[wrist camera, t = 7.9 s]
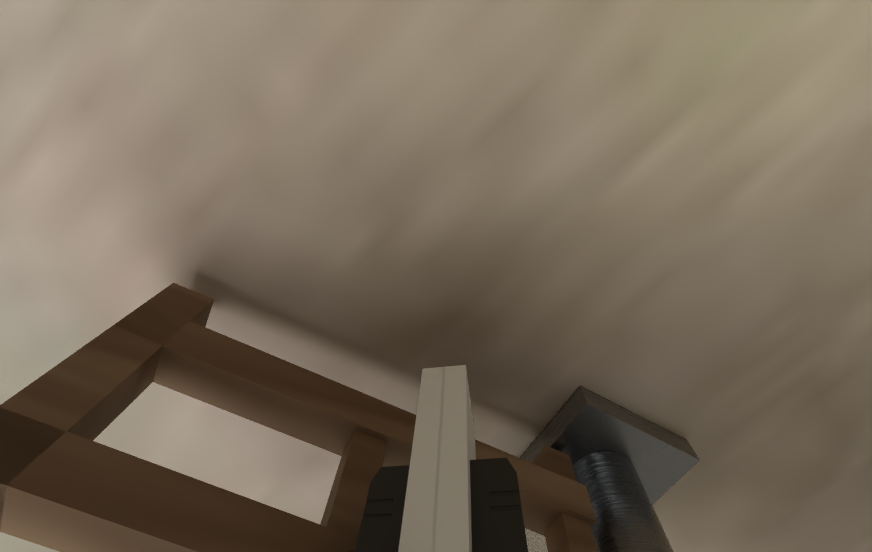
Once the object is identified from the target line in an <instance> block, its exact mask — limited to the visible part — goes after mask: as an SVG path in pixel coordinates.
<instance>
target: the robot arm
mask: <svg viewBox="0 0 872 552" xmlns="http://www.w3.org/2000/svg"><path fill="white" fill-rule="evenodd" d="M349 552H528V549H527V541H526V534H525V527H524V520H523V513H522V506H521V499H520V492H519V485H518V478H517V472H516V471H515V469H514V468H513V466H512V465H511V463H510V462H509V460H508V459H507V458H492V459H477V460H476V452H475V429H474V421H473V414H472V407H471V399H470V392H469V385H468V377H467V370H466V365H459V366H447V367H436V368H425V369H422V377H421V384H420V392H419V400H418V407H417V415H416V422H415V430H414V437H413V445H412V452H411V460H410V465H404V466H389V467H381V468H380V469H379V471H378V472H377V474H376V475H375V477H374V478H373V480H372V481H371V482H370V486H369V491H368V495H367V500H366V504H365V508H364V513H363V519H362V522H361V526H360V531H359V535H358V539H357V544H356V548H355V550H352V551H349Z"/></svg>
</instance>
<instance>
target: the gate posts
mask: <svg viewBox="0 0 872 552" xmlns="http://www.w3.org/2000/svg"><path fill="white" fill-rule="evenodd" d="M545 445H546V446H549V447H551V448H553V449H556V450H558V451H560V452H563V453H565V454H567V455H569V456H570V459H571V463H572V466H573V469H574V473H575V476H576V479H577V482H578V483H580V484H583V485H585V486H586V488H587V491H588V494H589V498H590V501H591V504H592V507H593V510H594V513H595V517H596V520H597V522H596V523H595V524H594V525H593V526H592V527H591V530H592V534H593V537H594V540H595V544H596V547H597V551H598V552H673V550H672V548H671V545H670V543H669V541H668V539H667V537H666V534H665V532H664V530H663V528H662V526H661V523H660V521H659V519H658V517H657V515H656V513H655V510H654V508H653V506H652V504H653V503H654V502H655V501H656V500H658V499H659V498H660V497H661V496H662V495H663V494H664V493H665V492H666V491H667V490H668V489H669V488H670V487H671V486H672V485H674V484H675V483H676V482H677V481H678V480H679V479H680V478H681V477H682V476H683V475H684V474H685V473H686V472H687V471H688V470H690V469H691V468H692V467H693V466H694V465H695V464H696V463H697V462H698V461H699V458H698V457H697V455H696V454H695V452H694V450H693V449H692V447H691V446H690V444H689V443H688V441H687V440H686V439H684V438H682V437H680V436H678V435H676V434H674V433H672V432H670V431H668V430H666V429H664V428H662V427H660V426H658V425H656V424H654V423H652V422H650V421H648V420H646V419H644V418H642V417H640V416H638V415H636V414H634V413H632V412H630V411H628V410H626V409H624V408H622V407H620V406H618V405H616V404H614V403H613V402H611V401H609V400H607V399H605V398H603V397H601V396H599V395H597V394H595V393H593V392H591V391H589V390H587V389H585V388H583V387H581V386H580V387H579V389H578V390H577V391H576V392H575V393H574V394H573V396H572V397H571V398H570V399H569V400H568V402H567V403H566V404H565V405H564V406H563V408H562V409H561V410H560V411H559V412H558V413H557V415H556V416H555V417H554V418H553V419H552V421H551V422H550V423H549V424H548V425H547V427H546V428H545V429H544V430H543V431H542V432H541V434H540V435H539V436H538V437H537V438H536V440H535V441H534V442H533V443H532V444H531V446H530V447H529V448H528V449H527V450H526V451H525V453H524V454H523V455H522V456H521V457H520V459H523V460H525V461H527V462H530V463H532V462H533V461H534V460H535V458H536V457H537V456H538V454H539V453H540V452H541V451H542V449H543V448H544V447H545Z"/></svg>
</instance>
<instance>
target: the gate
mask: <svg viewBox="0 0 872 552" xmlns="http://www.w3.org/2000/svg"><path fill="white" fill-rule="evenodd" d="M213 301H214V300H213V299H211V298H208V297H206V296H204V295H201V294H199V293H196V292H194V291H192V290H189V289H187V288H185V287H182V286H180V285H178V284H175V283H173V284H171V285H170V286H168V287H167V288H165V289H164V290H163V291H161V292H160V293H158V294H157V295H156V296H154V297H153V298H151V299H150V300H148V301H147V302H146V303H144V304H143V305H141V306H140V307H139V308H137V309H136V310H134V311H133V312H132V313H130V314H129V315H127V316H126V317H124V318H123V319H122V320H120V321H119V322H117V323H116V324H115V325H113V326H112V327H110V328H109V329H107V330H106V331H105V332H103V333H102V334H100V335H99V336H98V337H96V338H95V339H93V340H92V341H91V342H89V343H88V344H86V345H85V346H83V347H82V348H81V349H79V350H78V351H76V352H75V353H74V354H72V355H71V356H69V357H68V358H66V359H65V360H64V361H62V362H61V363H59V364H58V365H57V366H55V367H54V368H52V369H51V370H49V371H48V372H47V373H45V374H44V375H42V376H41V377H40V378H38V379H37V380H35V381H34V382H33V383H31V384H30V385H28V386H27V387H25V388H24V389H23V390H21V391H20V392H18V393H17V394H16V395H14V396H13V397H11V398H10V399H8V400H7V401H6V402H4V403H3V404H1V405H0V532H3V533H6V534H9V535H12V536H15V537H18V538H21V539H24V540H27V541H30V542H33V543H36V544H39V545H42V546H45V547H48V548H51V549H54V550H57V551H60V552H349V551H352V550H355V548H356V544H357V539H358V535H359V531H360V526H361V522H362V519H363V513H364V508H365V504H366V500H367V495H368V491H369V486H370V482H371V481H372V480H373V478H374V477H375V475H376V474H377V472H378V471H379V469H380V468H381V467H389V466H404V465H410V460H411V452H412V445H413V437H414V430H415V422H416V415H414V414H412V413H410V412H407V411H405V410H402V409H400V408H398V407H395V406H393V405H390V404H388V403H386V402H383V401H381V400H378V399H376V398H374V397H371V396H369V395H366V394H364V393H362V392H359V391H357V390H354V389H352V388H349V387H347V386H345V385H342V384H340V383H337V382H335V381H333V380H330V379H328V378H325V377H323V376H321V375H318V374H316V373H313V372H311V371H309V370H306V369H304V368H301V367H299V366H297V365H294V364H292V363H289V362H287V361H285V360H282V359H280V358H277V357H275V356H273V355H270V354H268V353H265V352H263V351H261V350H258V349H256V348H253V347H251V346H249V345H246V344H244V343H241V342H239V341H236V340H234V339H232V338H229V337H227V336H224V335H222V334H220V333H217V332H215V331H212V330H210V329H208V328H205V326H206V323H207V320H208V317H209V313H210V310H211V307H212V304H213ZM152 382H155V383H157V384H160V385H162V386H165V387H167V388H170V389H173V390H175V391H178V392H180V393H183V394H185V395H188V396H190V397H193V398H195V399H198V400H201V401H203V402H206V403H208V404H211V405H213V406H216V407H218V408H221V409H223V410H226V411H229V412H231V413H234V414H236V415H239V416H241V417H244V418H246V419H249V420H251V421H254V422H257V423H259V424H262V425H264V426H267V427H269V428H272V429H274V430H277V431H279V432H282V433H285V434H287V435H290V436H292V437H295V438H297V439H300V440H302V441H305V442H307V443H310V444H313V445H315V446H318V447H320V448H323V449H325V450H328V451H330V452H333V453H335V454H338V455H341V456H342V457H341V460H340V464H339V467H338V470H337V473H336V476H335V480H334V483H333V486H332V489H331V492H330V496H329V499H328V502H327V505H326V508H325V512H324V515H323V518H322V521H321V525H319V524H317V523H314V522H311V521H308V520H306V519H303V518H300V517H298V516H295V515H292V514H289V513H287V512H284V511H281V510H279V509H276V508H273V507H270V506H268V505H265V504H262V503H260V502H257V501H254V500H251V499H249V498H246V497H243V496H241V495H238V494H235V493H232V492H230V491H227V490H224V489H222V488H219V487H216V486H213V485H211V484H208V483H205V482H203V481H200V480H197V479H194V478H192V477H189V476H186V475H184V474H181V473H178V472H175V471H173V470H170V469H167V468H165V467H162V466H159V465H156V464H154V463H151V462H148V461H146V460H143V459H140V458H137V457H135V456H132V455H129V454H127V453H124V452H121V451H118V450H116V449H113V448H110V447H108V446H105V445H102V444H99V443H97V442H94V441H93V440H94V439H95V438H96V437H97V436H98V435H99V434H100V433H101V432H102V431H103V430H104V429H105V428H106V427H107V426H108V425H109V424H110V423H111V422H112V421H113V420H114V419H115V418H116V417H117V416H118V415H119V414H120V413H122V412H123V411H124V410H125V409H126V408H127V407H128V406H129V405H130V404H131V403H132V402H133V401H134V400H135V399H136V398H137V397H138V396H139V395H140V394H141V393H142V392H143V391H144V390H145V389H146V388H147V387H148V386H149V385H150V384H151V383H152ZM475 452H476V460H477V459H492V458H507V459H508V460H509V462H510V463H511V465H512V466H513V468H514V469H515V471H516V472H517V478H518V485H519V492H520V499H521V506H522V513H523V520H524V527H525V528H526V529H529V530H531V531H534V532H536V533H539V534H542V535H544V536H545V538H546V543H547V548H548V552H598V551H597V547H596V544H595V540H594V537H593V534H592V530H591V527H592V526H593V525H594V524H595V523H596V522H597V520H596V517H595V513H594V510H593V507H592V504H591V501H590V498H589V494H588V491H587V488H586V486H585V485H583V484H580V483H578V482H577V479H576V476H575V473H574V469H573V466H572V463H571V459H570V456H569V455H567V454H565V453H563V452H560V451H558V450H556V449H553V448H551V447H549V446H546V445H545V447H544V448H543V449H542V451H541V452H540V453H539V454H538V456H537V457H536V458H535V460H534V461H533V462H532V463H530V462H527V461H525V460H523V459H520V458H518V457H515V456H513V455H511V454H508V453H506V452H503V451H501V450H499V449H496V448H494V447H491V446H489V445H487V444H484V443H482V442H479V441H477V440H475Z"/></svg>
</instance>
